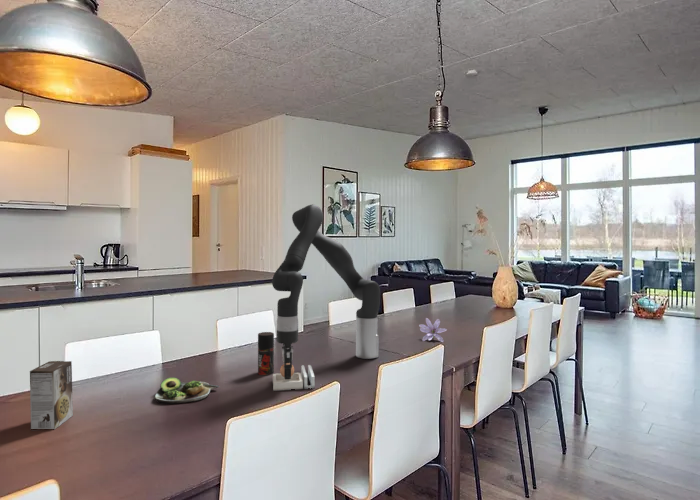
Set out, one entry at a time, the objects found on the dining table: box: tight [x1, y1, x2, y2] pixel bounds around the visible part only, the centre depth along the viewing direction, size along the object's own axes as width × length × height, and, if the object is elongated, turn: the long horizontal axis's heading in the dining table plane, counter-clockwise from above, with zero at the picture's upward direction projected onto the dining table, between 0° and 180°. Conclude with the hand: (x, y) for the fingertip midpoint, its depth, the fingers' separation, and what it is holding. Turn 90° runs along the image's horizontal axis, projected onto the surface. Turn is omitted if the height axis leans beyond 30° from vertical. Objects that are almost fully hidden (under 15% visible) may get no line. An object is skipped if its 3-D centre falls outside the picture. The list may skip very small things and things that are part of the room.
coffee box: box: [29, 360, 74, 430], centre depth 120 cm, size 9×6×16 cm
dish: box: [272, 371, 304, 392], centre depth 152 cm, size 10×10×3 cm
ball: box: [279, 363, 295, 377], centre depth 152 cm, size 5×5×5 cm
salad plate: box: [153, 377, 220, 405], centre depth 143 cm, size 19×18×5 cm
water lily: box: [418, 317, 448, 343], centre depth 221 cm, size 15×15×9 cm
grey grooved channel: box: [300, 364, 316, 390], centre depth 155 cm, size 4×14×4 cm, turn 11°
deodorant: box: [257, 331, 275, 376], centre depth 165 cm, size 6×6×15 cm
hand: (287, 376), depth 152 cm, fingers closed on ball, 5 cm apart
